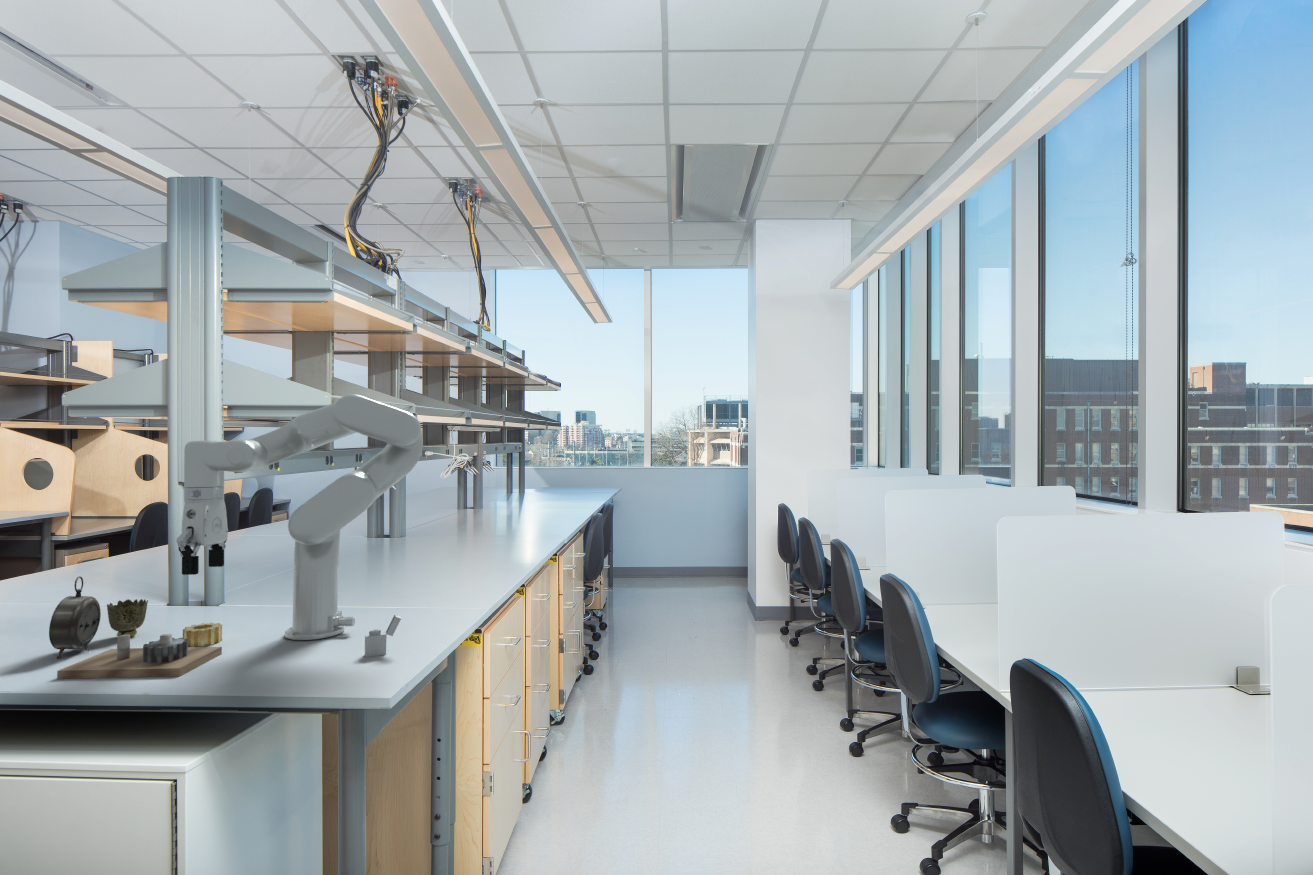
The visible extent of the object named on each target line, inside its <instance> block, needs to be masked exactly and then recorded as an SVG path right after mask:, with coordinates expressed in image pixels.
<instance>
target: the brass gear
mask: <svg viewBox="0 0 1313 875" xmlns="http://www.w3.org/2000/svg"><path fill="white" fill-rule="evenodd" d="M182 638H183V639H188V647H205V646H209V645H210V646H212V645H215V644H217V643H220V642H221V641H222V640H223V624H221V622H220V623H219V622H218V623H214V622H209V623H205V622H204V623H199V624H192V625H190V626H185V627H184V628H183V629H182Z"/></svg>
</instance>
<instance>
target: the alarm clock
mask: <svg viewBox="0 0 1313 875" xmlns="http://www.w3.org/2000/svg"><path fill="white" fill-rule="evenodd" d="M79 579H80V581H81V586H80V588H77V582H78V580H79ZM83 589H84V578H83V577H82V576H81V575H80V576H79V575H78V576H77V577H76V579H75V581H74V591H75V595H68V596H66V597H65V598H63V599H61V600H60V601H59V603H58V604H57V606H55V608H54V611H53V614H52V616H51V619H50V623H49V627H48V628H49V629H48V638H49V642H50V644H51V646H52V647H53V648H54V649H56V650H59V652H58V655H57V656H56V659H58V660H60V659H61V658H62V655H63V653H64V652H65V650H80V649H83V648H84V649H85V650H86V651H87V652H88V653H89V652H90V649H89V648H88V644H90V642H92V640H93V639H94V637H95V636H96V634H97V633H98V632H97V631H98V630H99V626H100V622H101V606H100V603H99V600H97V599H96V597H93V596H90V595H87V596H86V595H82V591H83Z"/></svg>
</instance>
